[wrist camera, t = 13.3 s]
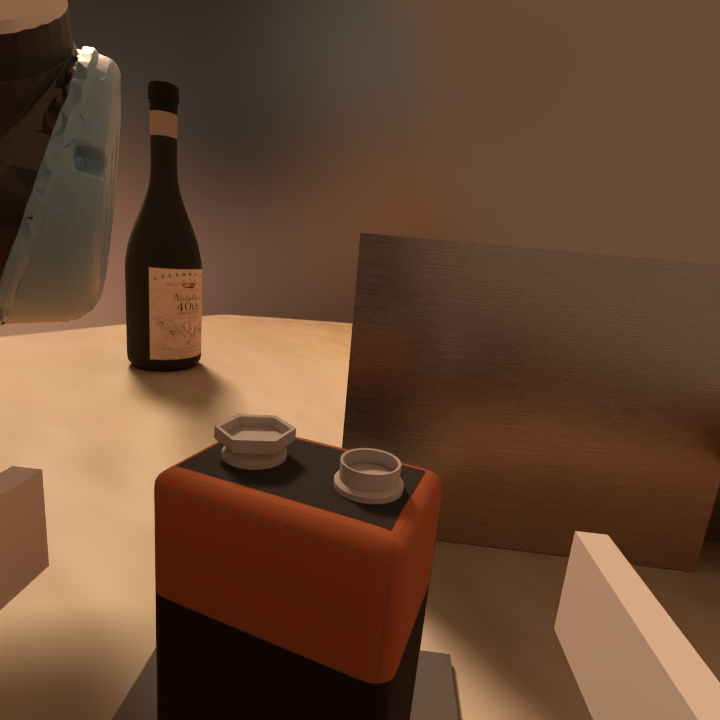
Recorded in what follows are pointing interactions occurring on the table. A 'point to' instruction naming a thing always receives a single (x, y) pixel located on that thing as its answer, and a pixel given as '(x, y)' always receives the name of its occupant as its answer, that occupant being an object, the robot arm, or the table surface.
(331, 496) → the battery
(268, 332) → the table surface
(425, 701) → the mat
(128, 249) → the wine bottle
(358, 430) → the panel
